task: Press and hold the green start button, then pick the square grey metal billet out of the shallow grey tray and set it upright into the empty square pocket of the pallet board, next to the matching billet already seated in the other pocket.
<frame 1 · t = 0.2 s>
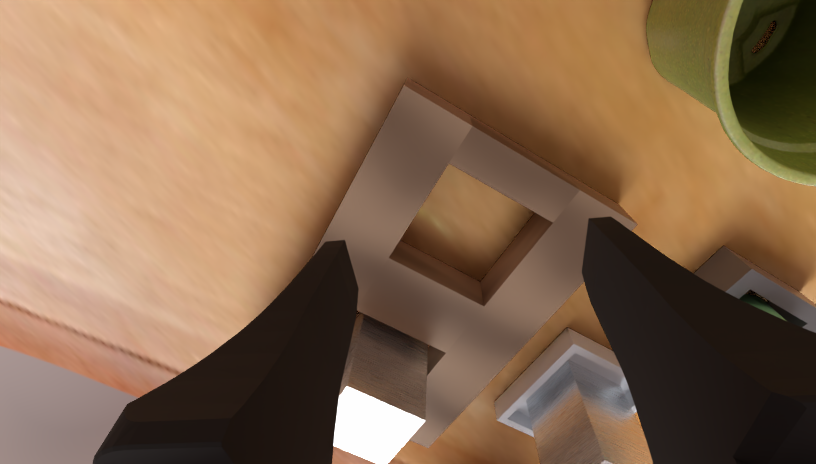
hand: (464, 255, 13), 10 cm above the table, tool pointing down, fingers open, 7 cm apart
billet: (572, 392, 29), resting on shallow grey tray
seated billet: (382, 336, 28), resting in pallet board
button housing: (720, 306, 25), on the table
pallet board: (420, 283, 26), on the table
shallow grey tray: (570, 387, 29), on the table
start button: (750, 338, 23), point 3 cm above the table, slide at 0.0 cm
plant pot: (715, 14, 19), on the table
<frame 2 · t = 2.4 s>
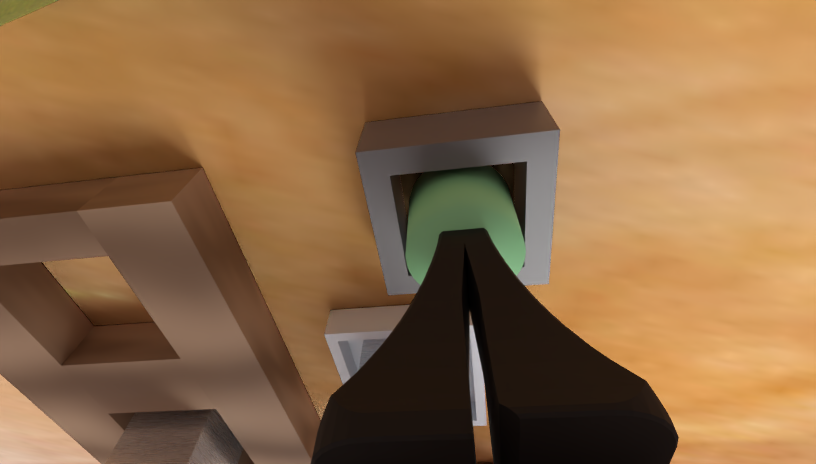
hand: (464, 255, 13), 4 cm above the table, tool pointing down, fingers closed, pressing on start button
billet: (413, 365, 22), resting on shallow grey tray
seated billet: (205, 401, 26), resting in pallet board
button housing: (457, 188, 16), on the table
pallet board: (166, 348, 23), on the table
shallow grey tray: (413, 359, 22), on the table
start button: (461, 228, 14), point 3 cm above the table, slide at 0.2 cm, touching gripper
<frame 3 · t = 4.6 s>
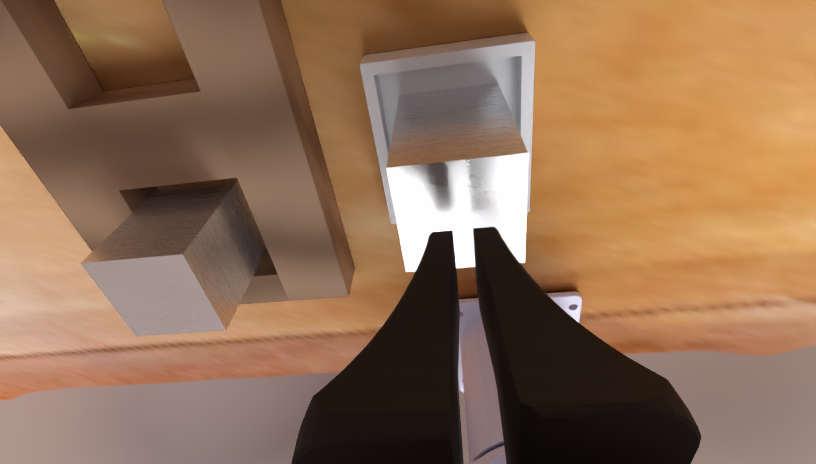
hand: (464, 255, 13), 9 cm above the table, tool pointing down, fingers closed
billet: (451, 135, 20), resting on shallow grey tray
seated billet: (222, 208, 24), resting in pallet board
pallet board: (181, 124, 21), on the table
shallow grey tray: (451, 132, 20), on the table
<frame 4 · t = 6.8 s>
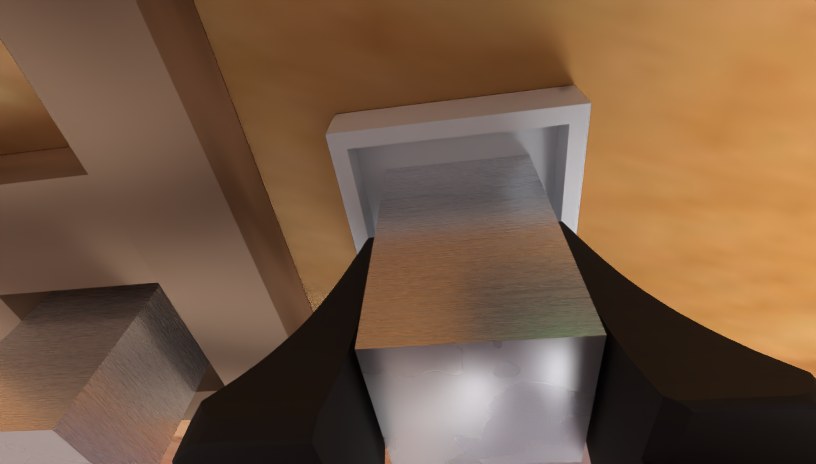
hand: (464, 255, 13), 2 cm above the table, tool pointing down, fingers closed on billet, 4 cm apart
billet: (461, 220, 14), resting on shallow grey tray, touching gripper
seated billet: (156, 300, 18), resting in pallet board
pallet board: (87, 200, 15), on the table
shallow grey tray: (460, 213, 15), on the table
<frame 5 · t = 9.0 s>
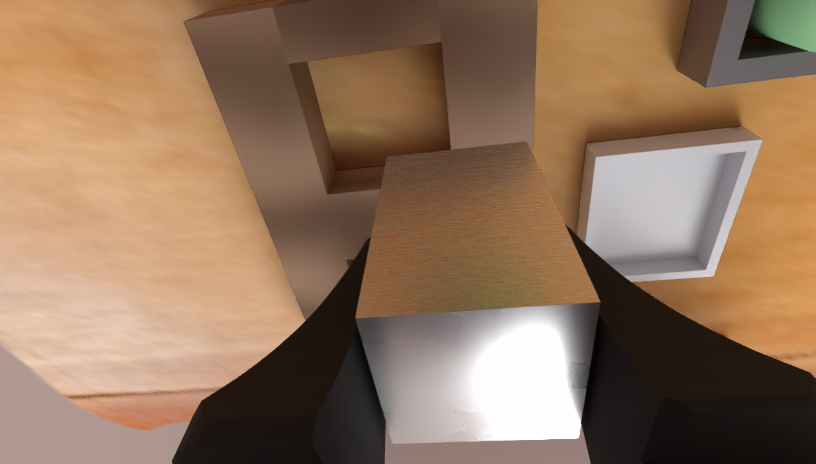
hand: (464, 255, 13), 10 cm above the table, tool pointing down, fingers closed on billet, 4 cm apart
billet: (460, 208, 15), point 7 cm above the table, touching gripper
pallet board: (399, 198, 23), on the table
shallow grey tray: (647, 205, 23), on the table
when the fingers open (3 cm above the table, at t = 11.3 s): billet stays where it is, resting in pallet board.
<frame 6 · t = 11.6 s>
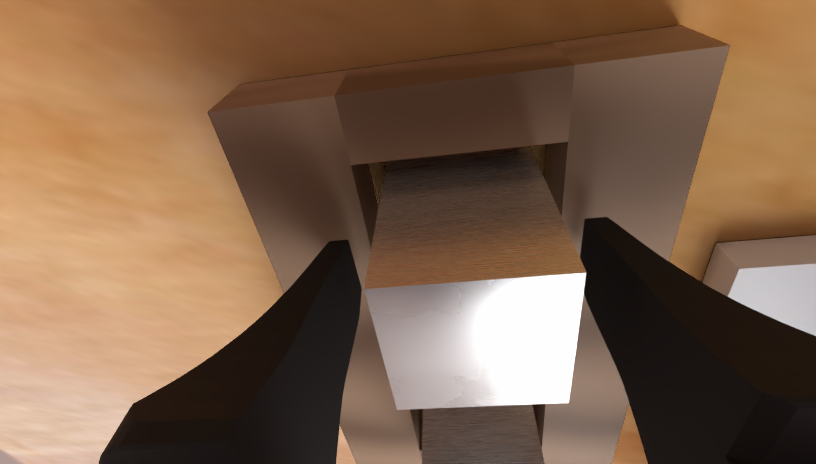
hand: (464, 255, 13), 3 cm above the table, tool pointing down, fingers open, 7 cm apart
billet: (459, 194, 15), resting in pallet board
seated billet: (472, 368, 21), resting in pallet board
pallet board: (466, 298, 18), on the table
shallow grey tray: (778, 310, 18), on the table
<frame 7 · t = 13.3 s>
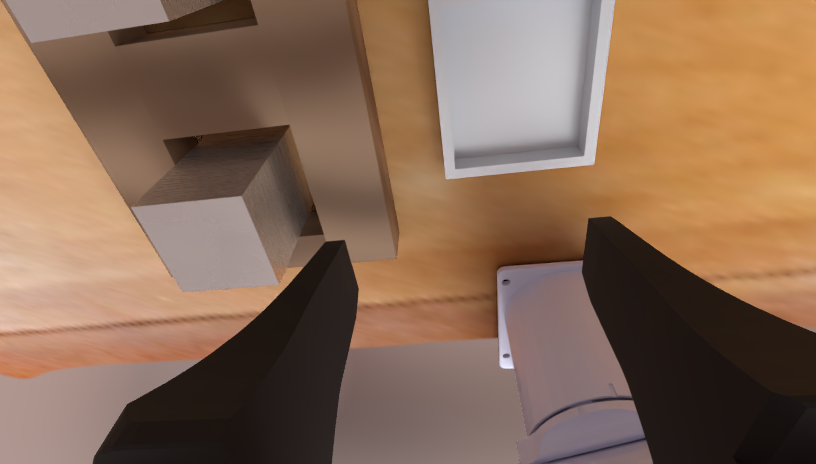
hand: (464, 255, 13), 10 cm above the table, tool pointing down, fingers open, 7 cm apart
seated billet: (264, 166, 23), resting in pallet board
pallet board: (228, 71, 20), on the table
shallow grey tray: (514, 78, 19), on the table
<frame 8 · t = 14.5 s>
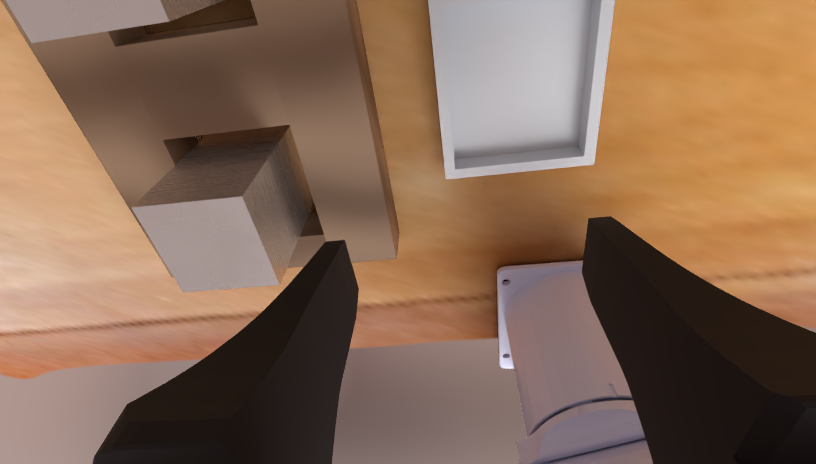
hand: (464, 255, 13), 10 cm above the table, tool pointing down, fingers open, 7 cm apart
seated billet: (264, 166, 23), resting in pallet board
pallet board: (228, 71, 20), on the table
shallow grey tray: (513, 78, 19), on the table
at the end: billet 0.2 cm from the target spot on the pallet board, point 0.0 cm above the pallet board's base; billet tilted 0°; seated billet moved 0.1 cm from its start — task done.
